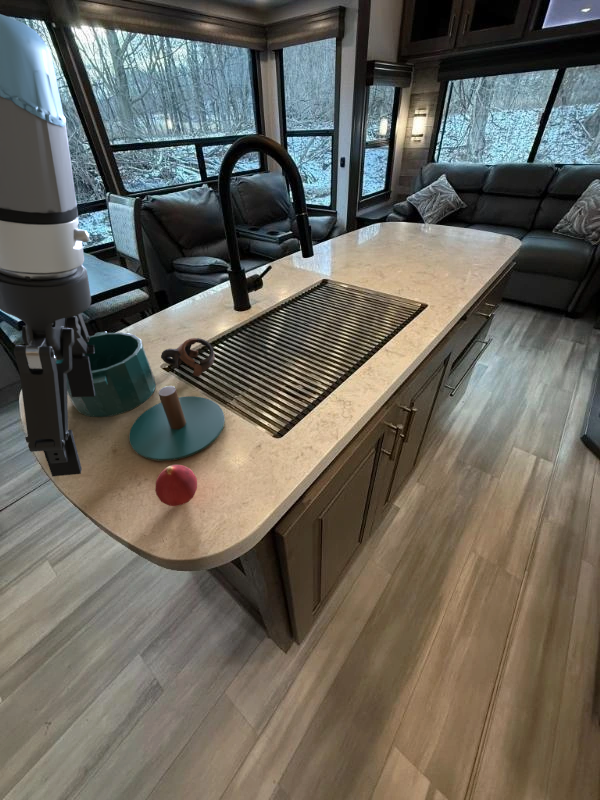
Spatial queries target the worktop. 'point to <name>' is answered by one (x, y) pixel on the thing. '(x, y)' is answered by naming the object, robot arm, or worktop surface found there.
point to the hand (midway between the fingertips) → (76, 429)
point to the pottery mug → (185, 353)
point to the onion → (176, 485)
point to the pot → (116, 375)
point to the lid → (176, 426)
